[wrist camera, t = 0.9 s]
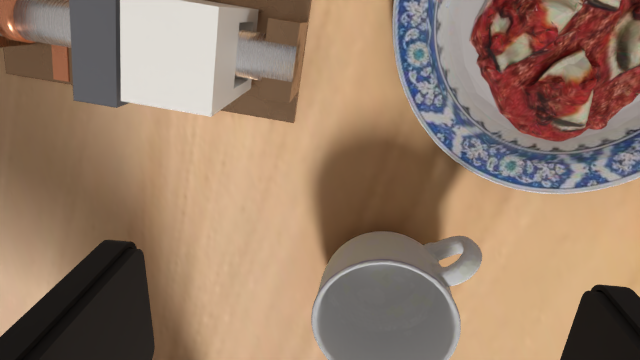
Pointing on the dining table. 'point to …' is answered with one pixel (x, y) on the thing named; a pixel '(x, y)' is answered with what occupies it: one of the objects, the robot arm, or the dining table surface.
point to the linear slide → (253, 47)
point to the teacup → (392, 298)
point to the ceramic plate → (526, 87)
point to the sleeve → (182, 53)
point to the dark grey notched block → (96, 51)
